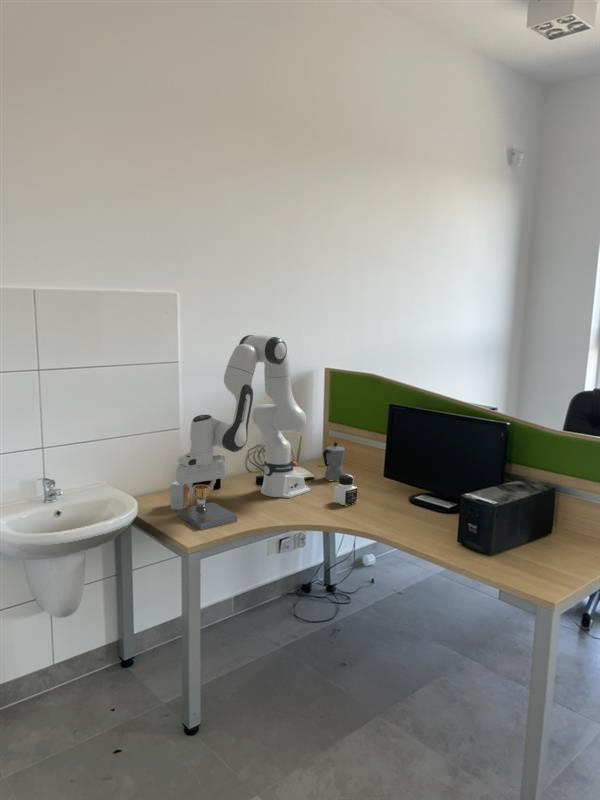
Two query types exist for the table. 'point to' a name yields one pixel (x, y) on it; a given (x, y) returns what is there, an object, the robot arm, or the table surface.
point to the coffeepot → (334, 461)
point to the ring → (201, 490)
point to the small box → (179, 496)
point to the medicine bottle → (345, 490)
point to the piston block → (206, 515)
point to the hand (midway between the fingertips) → (201, 492)
